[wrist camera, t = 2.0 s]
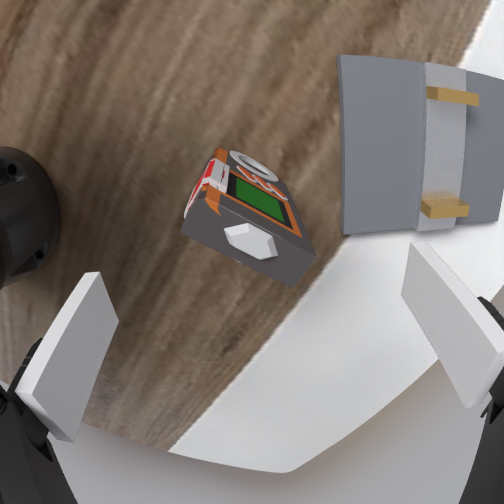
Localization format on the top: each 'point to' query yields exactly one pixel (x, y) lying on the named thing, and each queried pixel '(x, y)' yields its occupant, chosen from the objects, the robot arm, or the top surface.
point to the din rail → (442, 146)
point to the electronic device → (248, 217)
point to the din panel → (409, 144)
